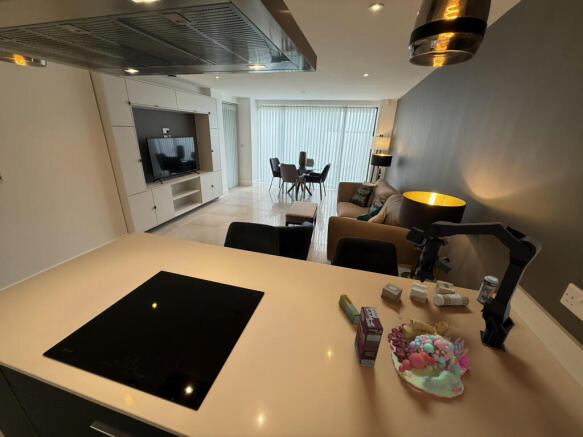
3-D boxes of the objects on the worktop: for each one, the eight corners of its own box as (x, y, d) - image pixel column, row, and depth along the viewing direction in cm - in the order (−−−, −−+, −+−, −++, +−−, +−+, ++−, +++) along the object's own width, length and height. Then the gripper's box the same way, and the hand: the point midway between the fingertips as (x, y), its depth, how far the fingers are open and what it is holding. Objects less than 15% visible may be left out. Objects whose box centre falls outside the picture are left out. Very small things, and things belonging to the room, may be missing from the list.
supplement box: (353, 342, 79) (360, 305, 73) (367, 343, 79) (376, 307, 73) (358, 366, 71) (367, 327, 65) (374, 367, 71) (384, 328, 65)
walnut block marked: (393, 304, 98) (396, 294, 96) (380, 297, 102) (383, 287, 100) (400, 298, 102) (402, 288, 100) (387, 291, 106) (389, 282, 104)
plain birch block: (424, 303, 100) (427, 294, 98) (409, 298, 102) (411, 288, 101) (425, 295, 104) (428, 286, 103) (410, 290, 107) (413, 281, 105)
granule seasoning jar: (459, 300, 103) (431, 300, 101) (463, 291, 101) (434, 292, 100) (468, 307, 98) (438, 307, 97) (471, 298, 97) (441, 299, 96)
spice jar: (477, 301, 102) (486, 279, 98) (474, 295, 106) (484, 273, 102) (490, 305, 100) (500, 283, 96) (487, 299, 104) (497, 277, 100)
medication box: (358, 323, 87) (361, 315, 86) (352, 324, 86) (355, 316, 85) (343, 301, 98) (346, 293, 97) (338, 301, 97) (340, 294, 96)
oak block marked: (452, 300, 102) (455, 291, 100) (436, 296, 104) (440, 287, 102) (449, 292, 107) (452, 283, 106) (434, 289, 109) (437, 280, 108)
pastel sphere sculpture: (381, 322, 88) (386, 303, 85) (447, 333, 85) (455, 313, 82) (399, 390, 65) (406, 367, 62) (490, 408, 62) (503, 385, 59)
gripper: (455, 267, 84) (443, 301, 89) (454, 247, 98) (443, 278, 104) (421, 257, 89) (411, 290, 95) (424, 240, 104) (416, 269, 109)
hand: (421, 282), depth 101 cm, fingers closed
